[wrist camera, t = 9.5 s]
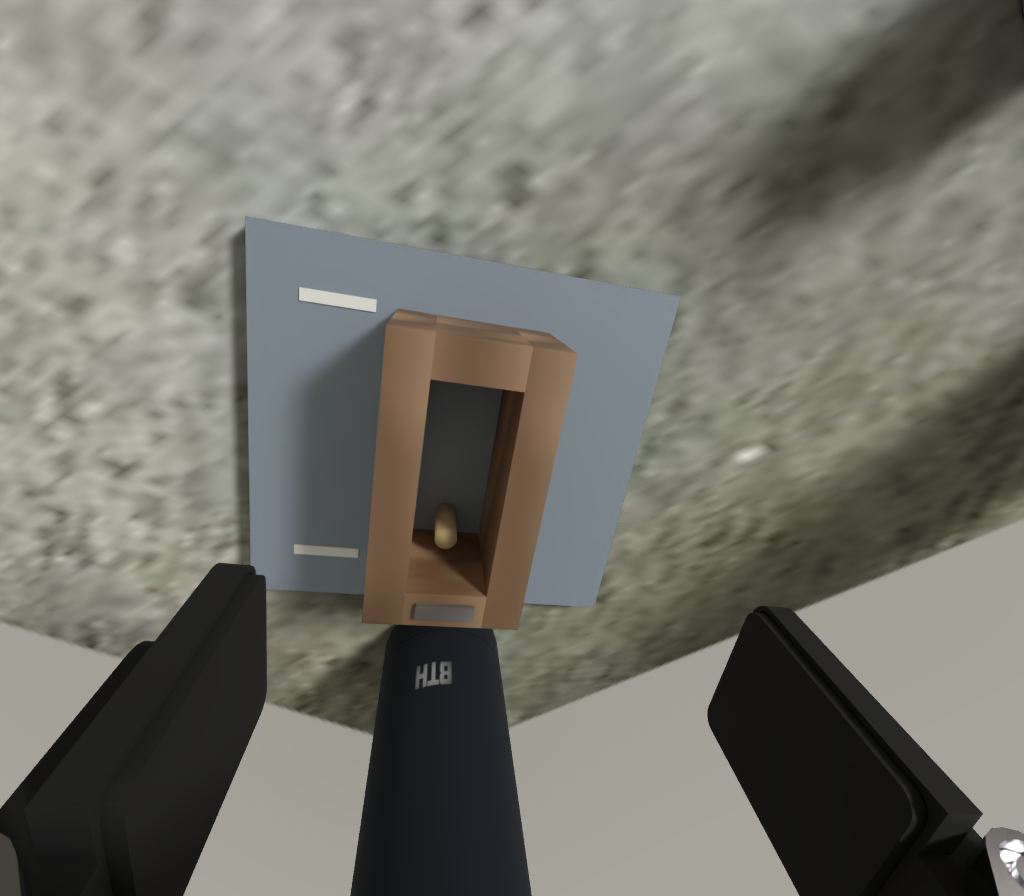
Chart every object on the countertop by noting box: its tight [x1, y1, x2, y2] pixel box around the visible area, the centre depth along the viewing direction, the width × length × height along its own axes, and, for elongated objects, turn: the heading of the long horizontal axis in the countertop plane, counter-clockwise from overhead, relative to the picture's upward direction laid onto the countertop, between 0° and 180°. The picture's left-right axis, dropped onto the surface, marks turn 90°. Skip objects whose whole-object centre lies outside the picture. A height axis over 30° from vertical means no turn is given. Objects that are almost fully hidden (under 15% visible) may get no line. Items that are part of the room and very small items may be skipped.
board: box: [245, 216, 680, 607], centre depth 22 cm, size 18×17×4 cm
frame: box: [362, 309, 578, 630], centre depth 21 cm, size 6×12×5 cm, turn 170°
